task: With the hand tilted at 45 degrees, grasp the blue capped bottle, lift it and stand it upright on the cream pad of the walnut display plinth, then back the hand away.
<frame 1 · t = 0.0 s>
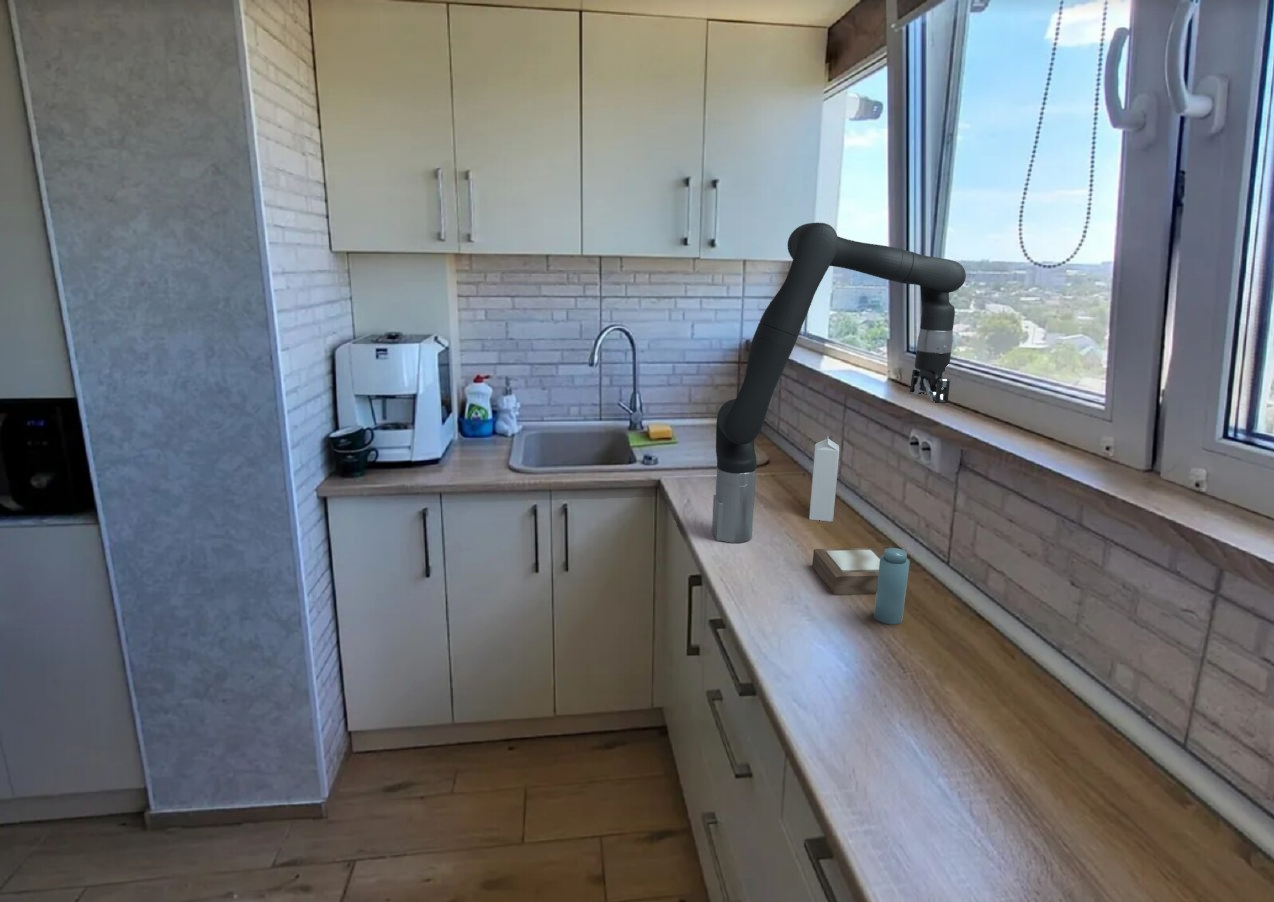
hand: (925, 417, 175), 29 cm above the worktop, tool pointing down, fingers open, 8 cm apart
plinth: (854, 578, 156), on the worktop
milk: (820, 517, 192), on the worktop
blue capped bottle: (887, 617, 140), on the worktop
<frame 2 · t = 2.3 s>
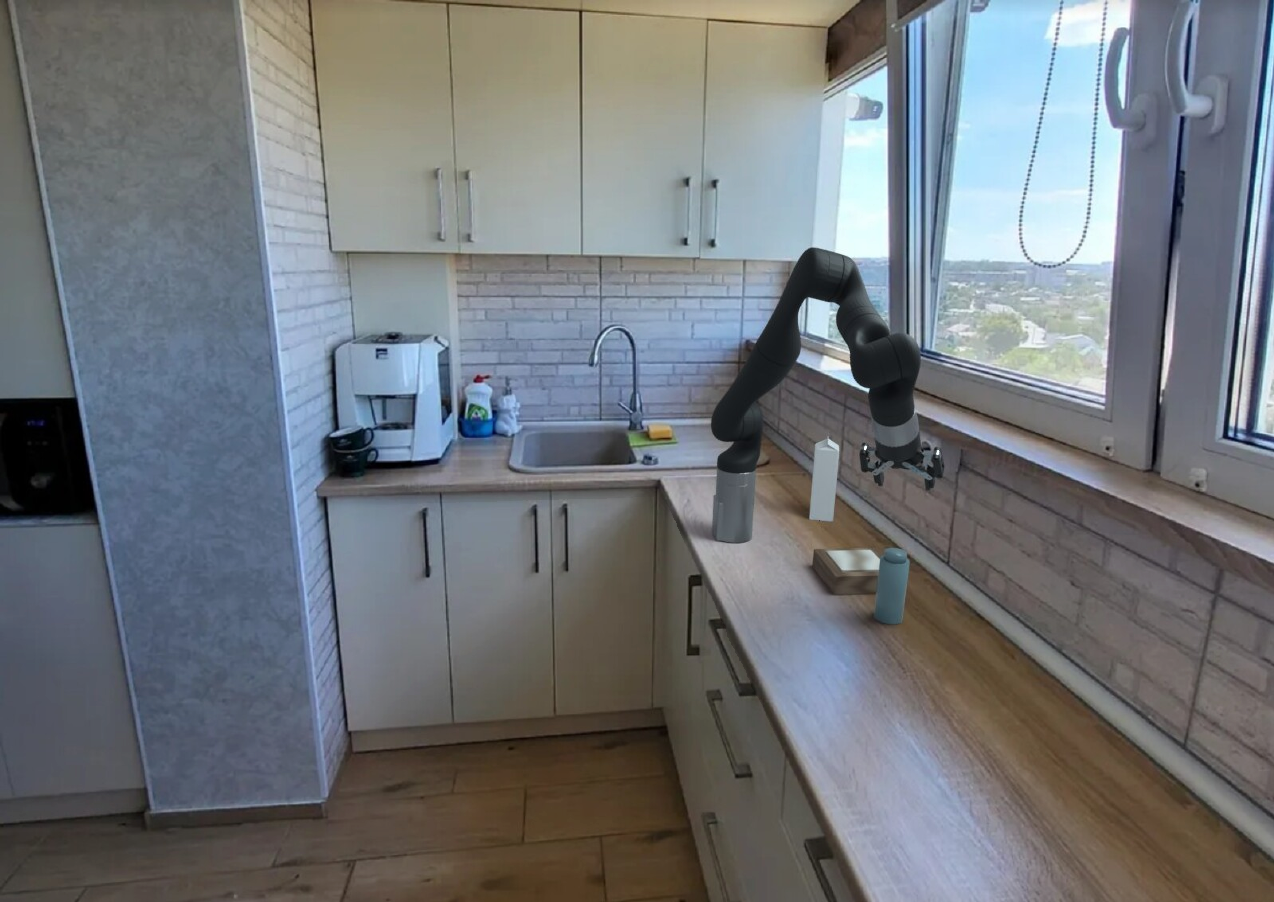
hand: (904, 484, 138), 25 cm above the worktop, tool tilted 40°, fingers open, 8 cm apart
nothing on the worktop moved.
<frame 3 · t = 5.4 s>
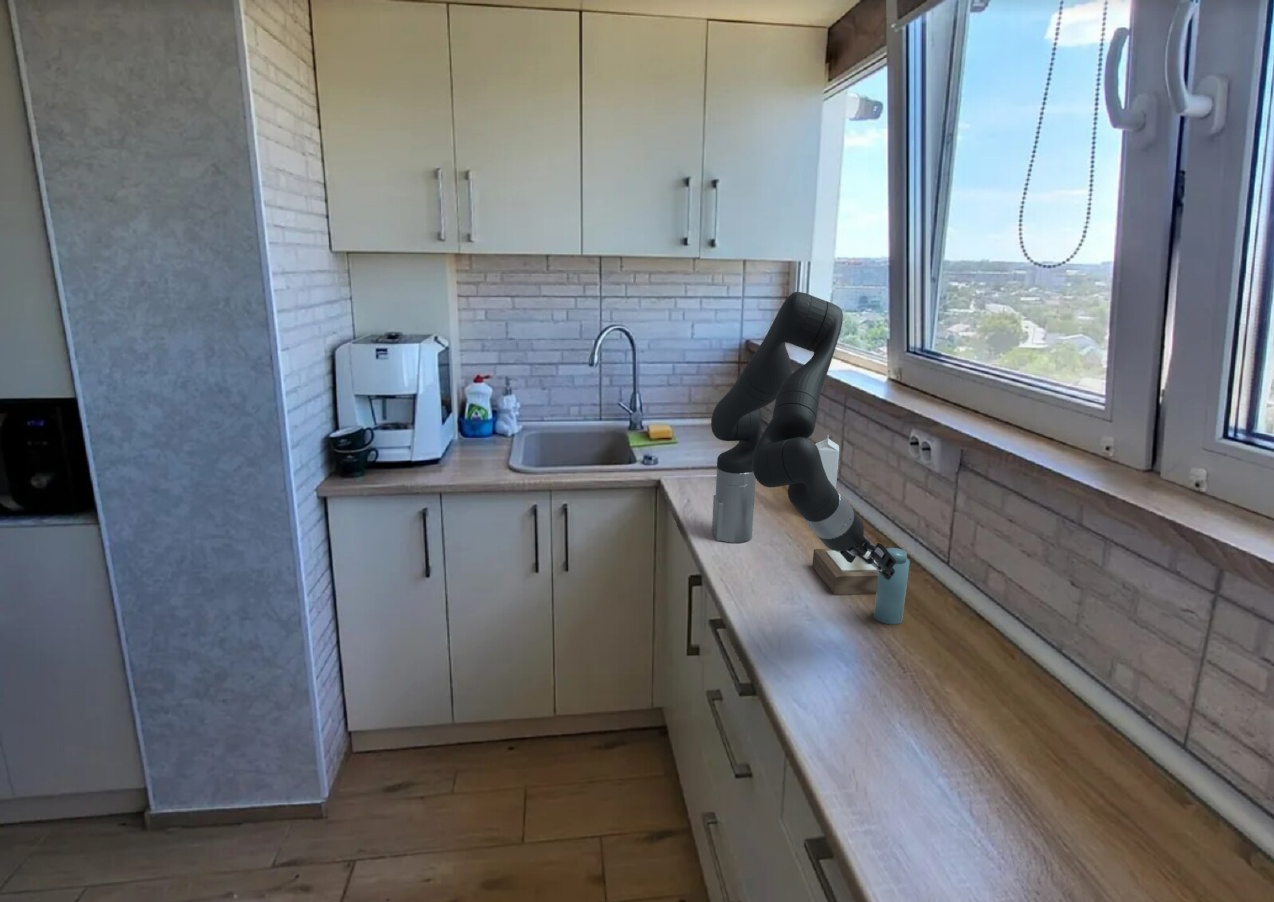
hand: (871, 566, 133), 12 cm above the worktop, tool tilted 45°, fingers open, 8 cm apart
nothing on the worktop moved.
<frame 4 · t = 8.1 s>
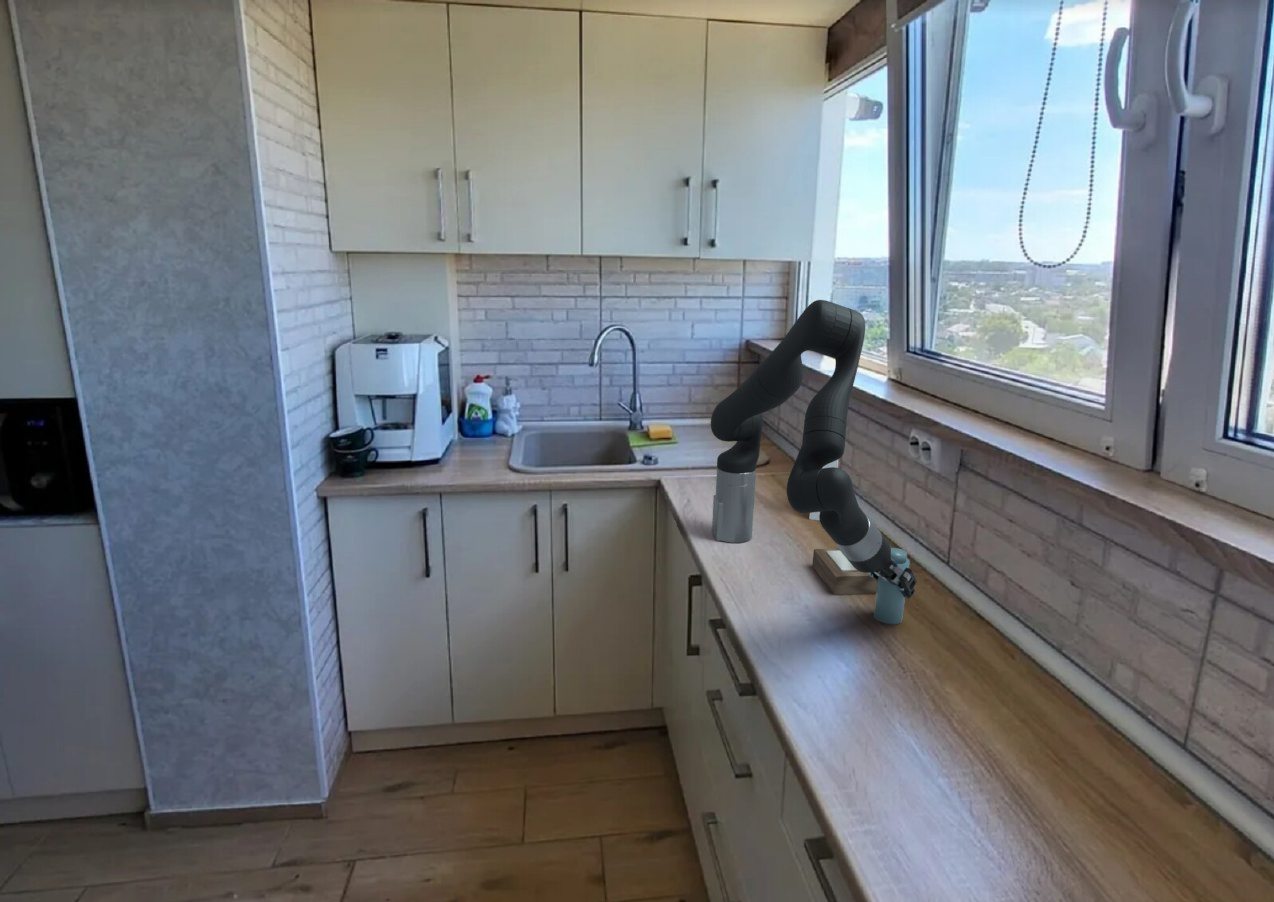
hand: (897, 588, 139), 6 cm above the worktop, tool tilted 45°, fingers closed on blue capped bottle, 5 cm apart
blue capped bottle: (887, 617, 140), on the worktop, touching gripper
everything else where it was.
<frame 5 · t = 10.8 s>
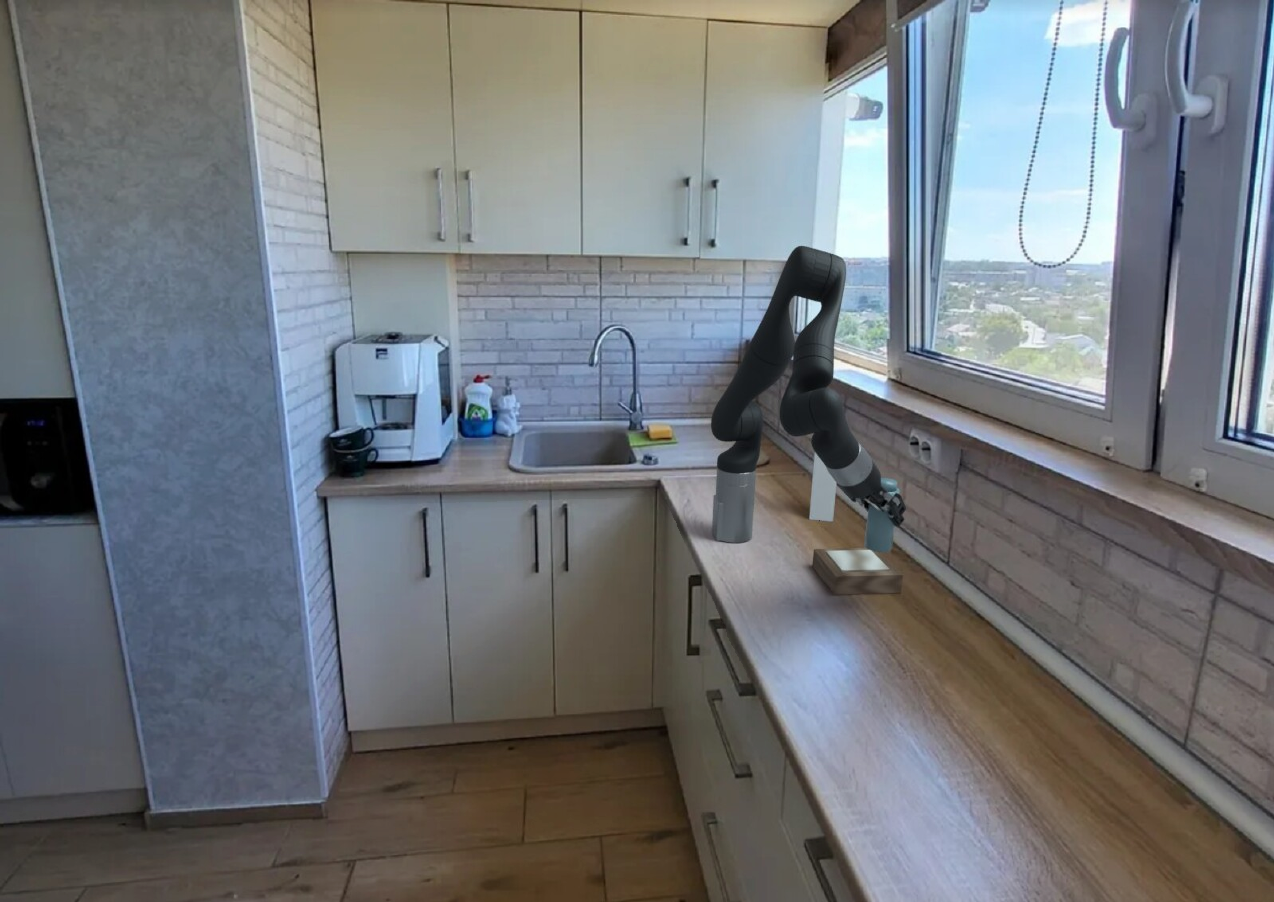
hand: (887, 517, 143), 17 cm above the worktop, tool tilted 45°, fingers closed on blue capped bottle, 5 cm apart
blue capped bottle: (877, 546, 143), point 12 cm above the worktop, touching gripper
everything else where it was.
when the fingers open (11 cm above the worktop, at t = 13.8 s): blue capped bottle stays where it is, resting on plinth.
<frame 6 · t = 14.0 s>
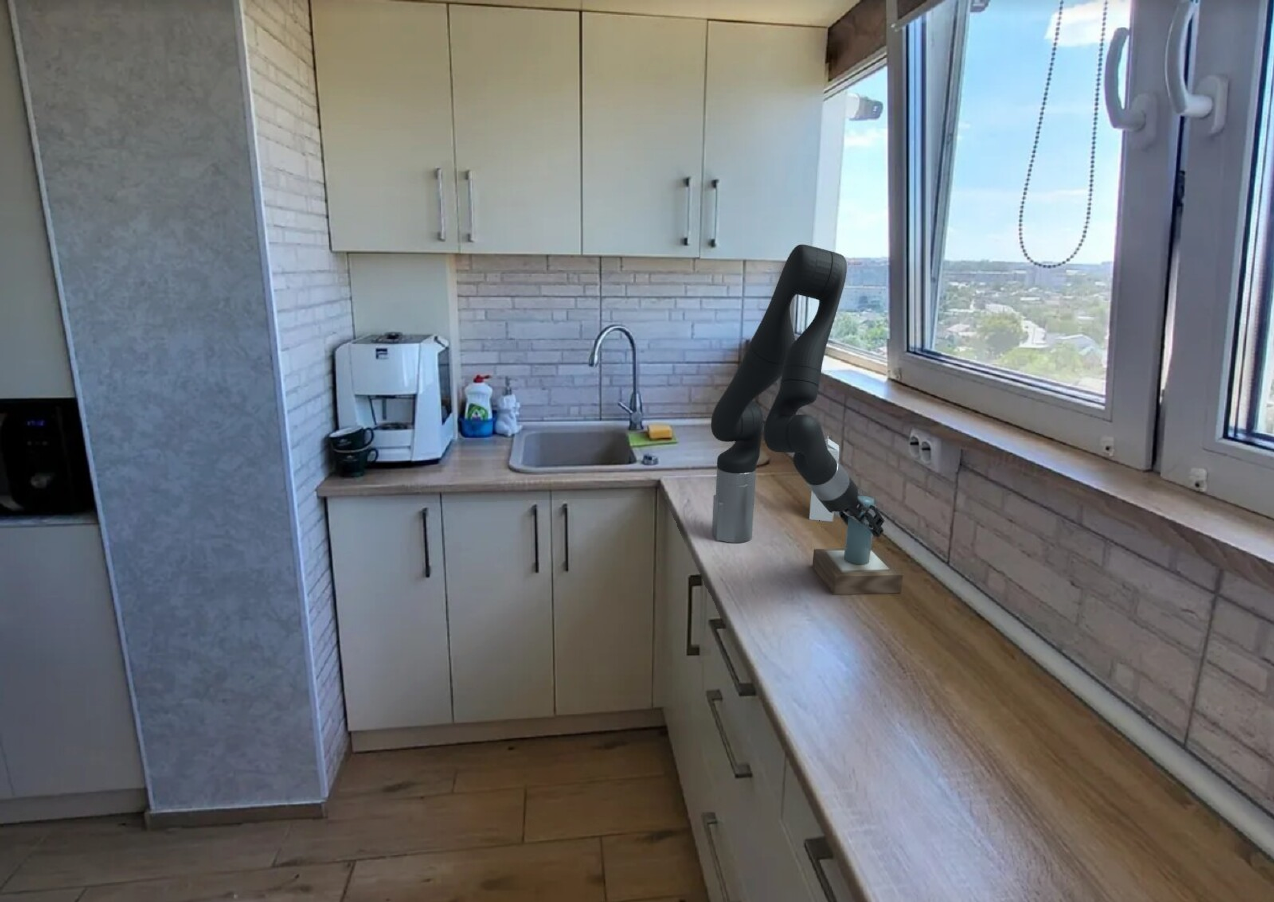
hand: (865, 528, 154), 11 cm above the worktop, tool tilted 45°, fingers open, 7 cm apart
blue capped bottle: (856, 559, 155), point 4 cm above the worktop, touching plinth
everything else where it was.
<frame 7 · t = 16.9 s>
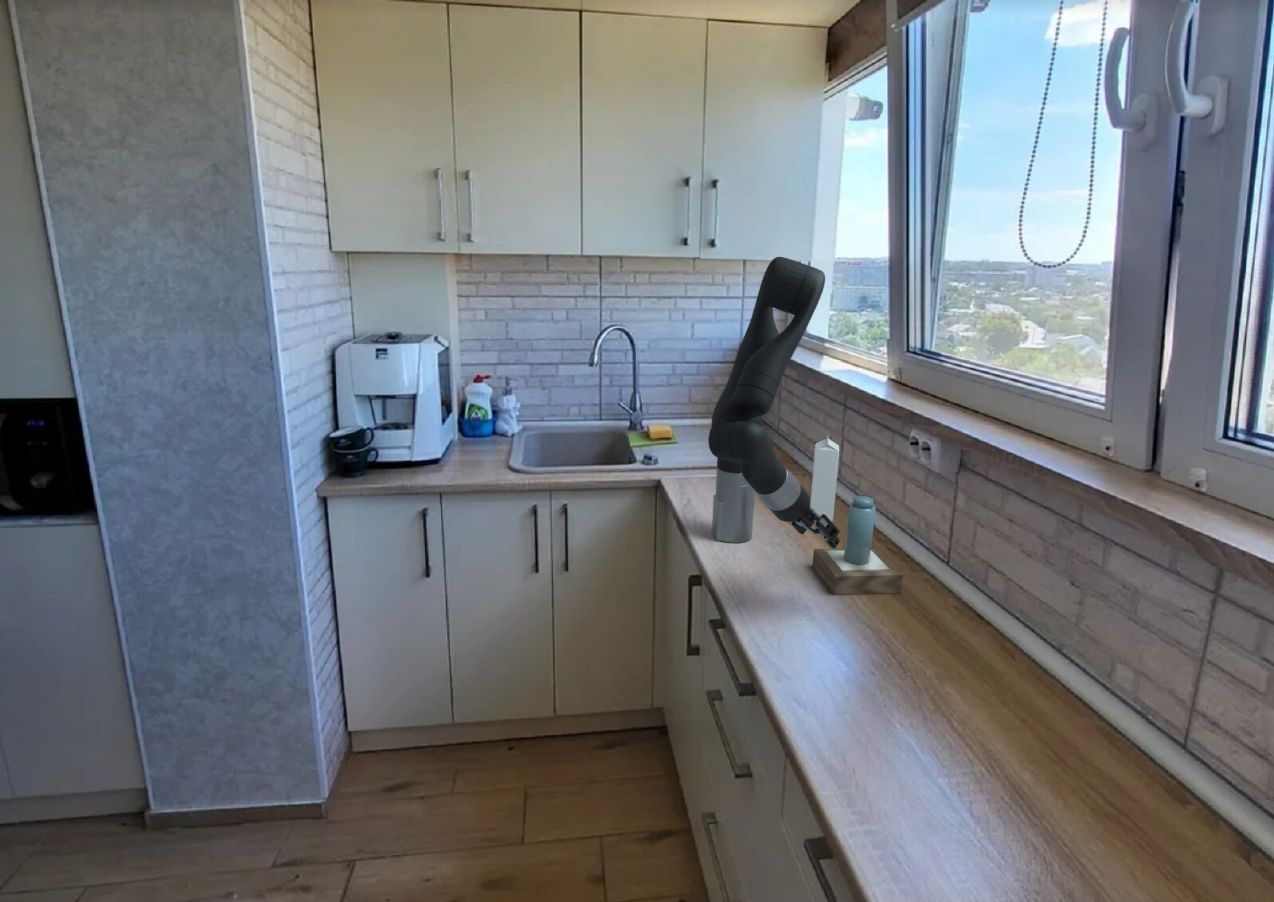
hand: (819, 537, 147), 12 cm above the worktop, tool tilted 45°, fingers open, 8 cm apart
nothing on the worktop moved.
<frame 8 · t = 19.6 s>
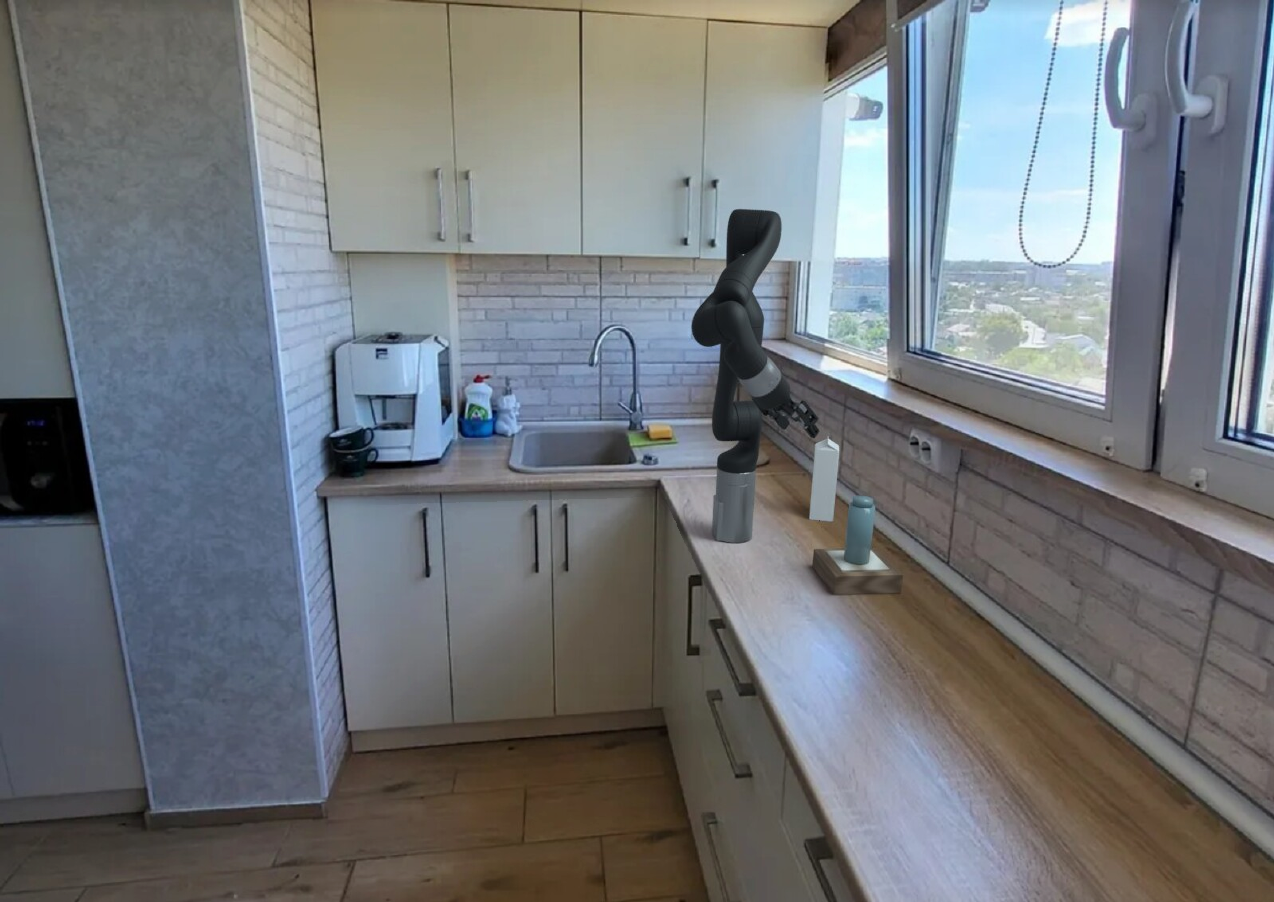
hand: (800, 430, 154), 31 cm above the worktop, tool tilted 45°, fingers open, 8 cm apart
nothing on the worktop moved.
at the end: blue capped bottle inside the target area on the plinth (0.1 cm from its centre), point 4.5 cm above the plinth's base; blue capped bottle tilted 2°; the gripper is holding nothing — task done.
